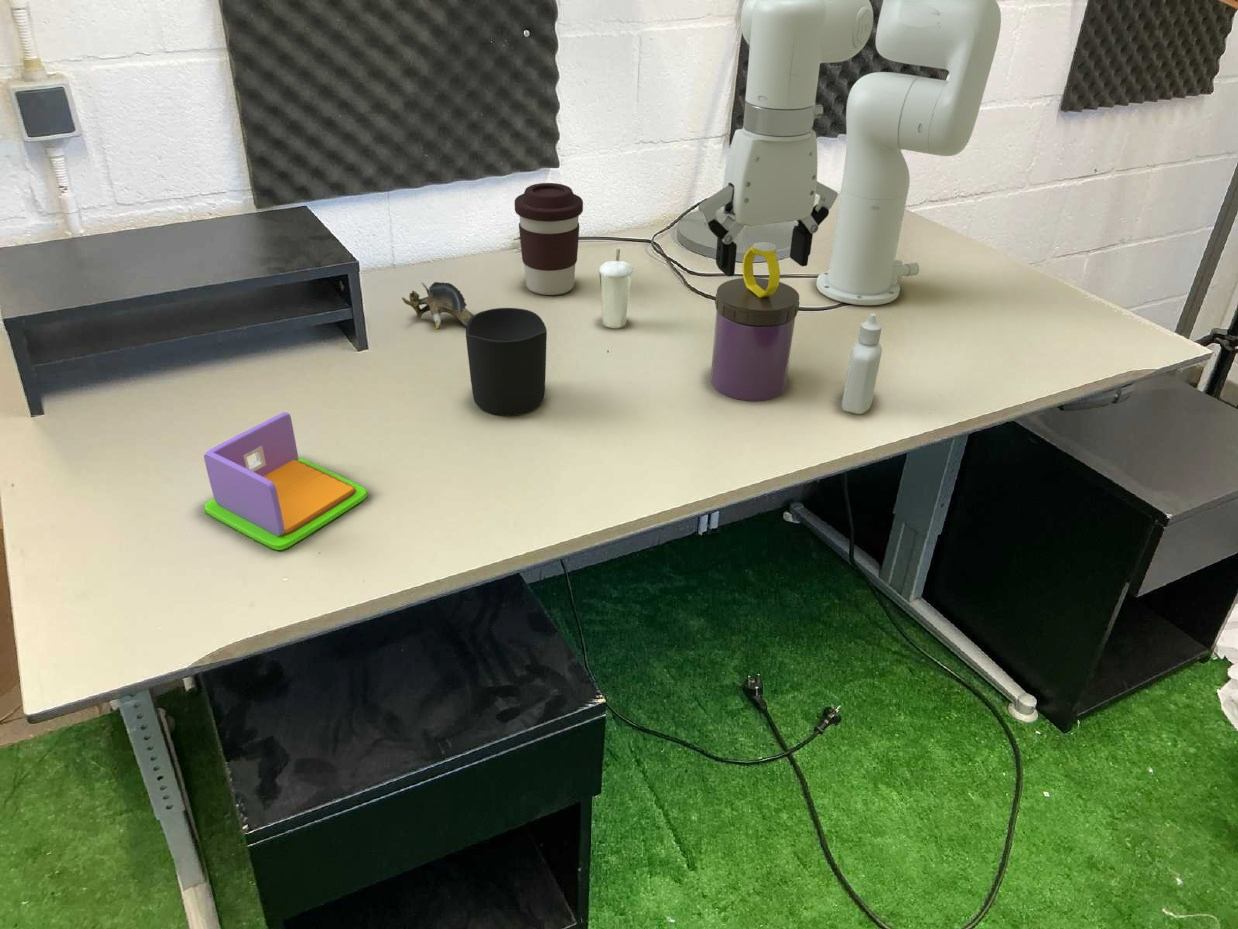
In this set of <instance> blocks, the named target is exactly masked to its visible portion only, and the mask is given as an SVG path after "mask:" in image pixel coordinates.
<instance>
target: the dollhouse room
mask: <svg viewBox="0 0 1238 929" xmlns="http://www.w3.org/2000/svg"><path fill="white" fill-rule="evenodd" d="M254 454H255V461H254V462H252V463H250V464H249V461H248V457H250V456H253V455H254ZM203 460H204V464H205V469H206V472H207V476H208V481H209V484H210V488H211V492H212V496H213V498H212V499H210V500H209V501H207V502H206V503H205V504H204V511H205V513H206V514H208V515H209V516H211V517H213V518H214V519H216V520H218V521H219V522H222V523H223V524H225V525H227V526H229V527H231V528H232V529H234V530H236V531H238V532H239V533H242V534H243V535H245V536H247V537H249V538H251V539H253V540H255V541H256V542H258V543H260V544H262V545H264V546H266V547H268V548H270V549H272V550H276V551H283V550H286V549H288V548H290V547H292V546H293V545H295V544H297V543H298V542H300V541H301V540H303V539H305V538H307V537H308V536H310V535H311V534H313V533H314V532H317V531H318V530H319V529H321V528H322V527H324V526H325V525H327V524H329V523H330V522H332V521H333V520H335V519H336V518H338V517H340V516H341V515H343V514H344V513H346V512H347V511H349V510H351V509H353V507H355V506H357V505H358V504H360V503H362V502H363V501H364V500H365V499H366V498H367V497H368V491H367V489H366V488H365V487H363V486H361V485H360V484H358V483H356V482H353V481H351V480H350V479H347V478H345V477H343V476H341V475H339V474H337V473H335V472H333V471H330V470H328V469H326V468H324V467H322V466H320V465H318V464H315V463H313V462H311V461H309V460H306V459H304V458H302V457H299V454H298V447H297V442H296V438H295V432H294V426H293V421H292V417H291V413H289V412H286V411H283V412H281V413H278V414H277V415H274V416H273V417H271V418H269V419H267V420H265V421H263V422H261V423H259V424H257V425H255V426H252V427H251V428H249V429H247V430H245V431H243V432H241V433H239V434H237V435H235V436H233V437H232V438H229V439H227V440H225V441H223V442H221V443H220V444H217V445H216V446H214V447H212V448H210V449H209V450H207V451H205V453H204V454H203Z"/></svg>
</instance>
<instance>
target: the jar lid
mask: <svg viewBox="0 0 1238 929" xmlns="http://www.w3.org/2000/svg"><path fill="white" fill-rule="evenodd" d="M754 278H755V281H756V284H757V285H758V286H759V287H760V288H762V289H763V290H764V291H766V289H767V287H768V282H769V278H763V277H754ZM714 305H715V311H716V310H717V311H718V312H719V313H720V314H721V315H722V316H724V317H725V318H727V319H730V320H732V321H735V322H738V323H742V324H748V325H756V326H771V325H779V324H783V323H786V322H789V321H791V320H792V319H794V318H795V319H796V318H797V316H798V313H799V310H800V294H799V292H798V291H797V289H795V288H794V287H792V286H790V285H789V284H786V283H784V282H781V281H779V286H778V288H777V289H776V291H775V293H774V294H772V295H770V296H768V297H763V298H759V297H758V296H757V295H756V294H755V293H753V292H752V291H751V290H749V289H747V287H746V284H745V281H744V277H740V278H733V279H730V280H727V281H724V282H723V283H720V284H719V285H718V286H717V289H716V294H715V300H714Z"/></svg>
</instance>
